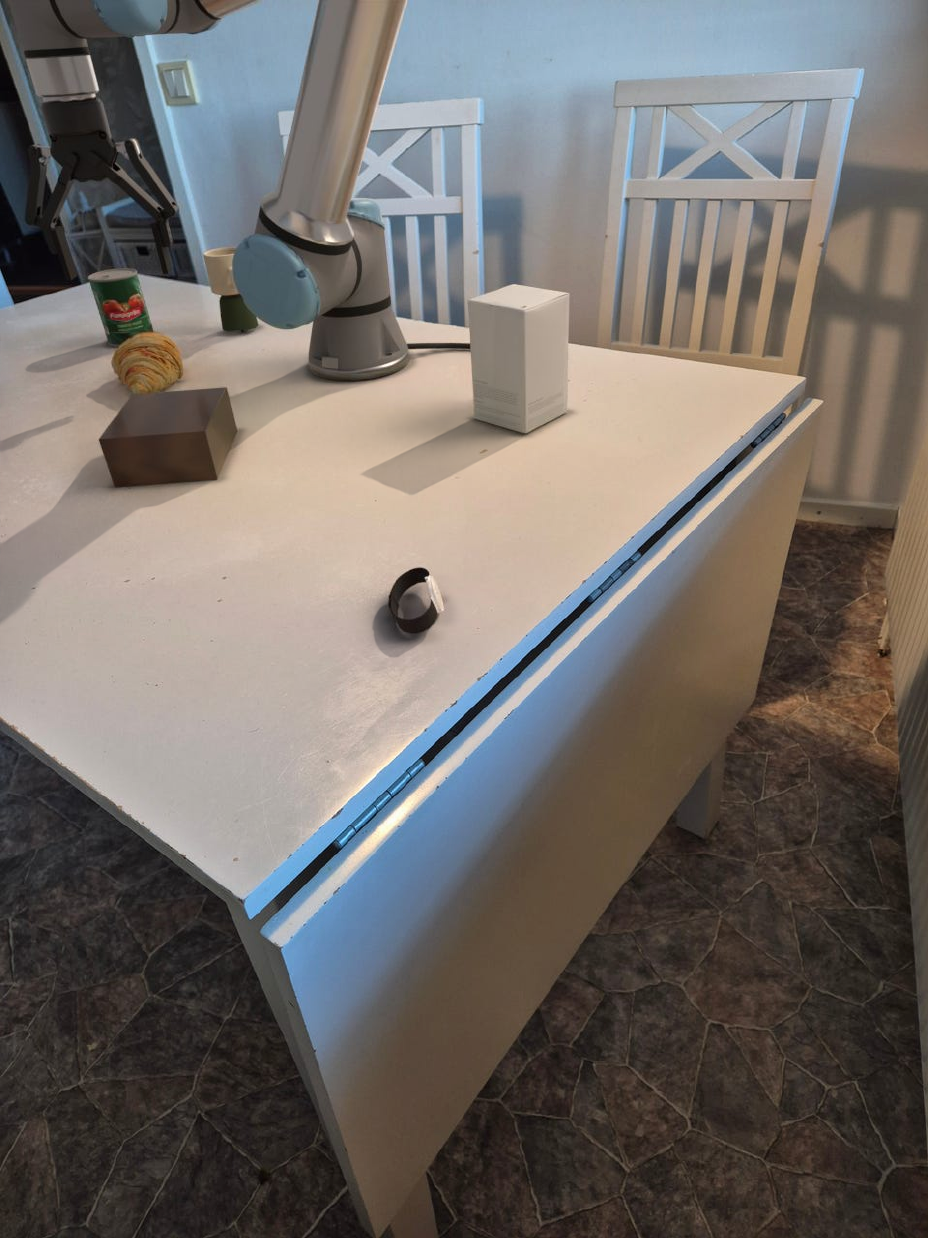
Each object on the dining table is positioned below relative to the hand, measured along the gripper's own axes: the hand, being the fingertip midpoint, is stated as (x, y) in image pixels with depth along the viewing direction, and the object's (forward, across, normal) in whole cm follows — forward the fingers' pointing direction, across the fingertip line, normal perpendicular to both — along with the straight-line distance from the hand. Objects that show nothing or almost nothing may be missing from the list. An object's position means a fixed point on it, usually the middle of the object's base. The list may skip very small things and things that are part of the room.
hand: (120, 275), depth 115 cm
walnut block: (+15, -11, +30) cm, 35 cm away
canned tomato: (+16, +9, -22) cm, 28 cm away
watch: (+15, -40, +67) cm, 80 cm away
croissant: (+15, 0, 0) cm, 15 cm away
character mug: (+15, -10, -23) cm, 29 cm away
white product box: (+15, -54, +25) cm, 62 cm away
